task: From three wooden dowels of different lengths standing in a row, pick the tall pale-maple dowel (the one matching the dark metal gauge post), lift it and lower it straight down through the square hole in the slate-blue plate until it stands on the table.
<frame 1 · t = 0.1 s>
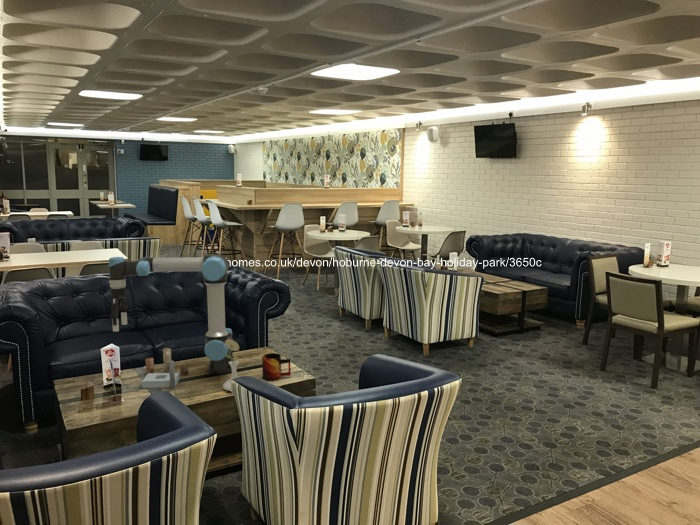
hand: (120, 327, 287), 28 cm above the table, fingers open, 13 cm apart
flower in vase: (233, 388, 279), on the table
short pin: (184, 374, 300), on the table
hole plate: (161, 383, 286), on the table
mug: (275, 377, 295), on the table
long pin: (167, 374, 300), on the table
medium pin: (150, 375, 298), on the table
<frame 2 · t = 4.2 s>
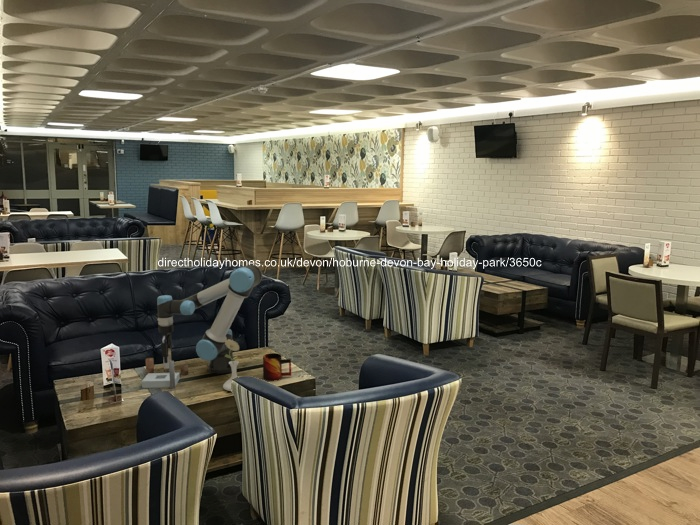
hand: (167, 366, 299), 4 cm above the table, fingers closed on long pin, 4 cm apart
long pin: (168, 374, 300), on the table, touching gripper
everything else where it was.
when the fingers open (5 cm above the table, at t = 9.4 s): long pin moves 1 cm, resting in hole plate.
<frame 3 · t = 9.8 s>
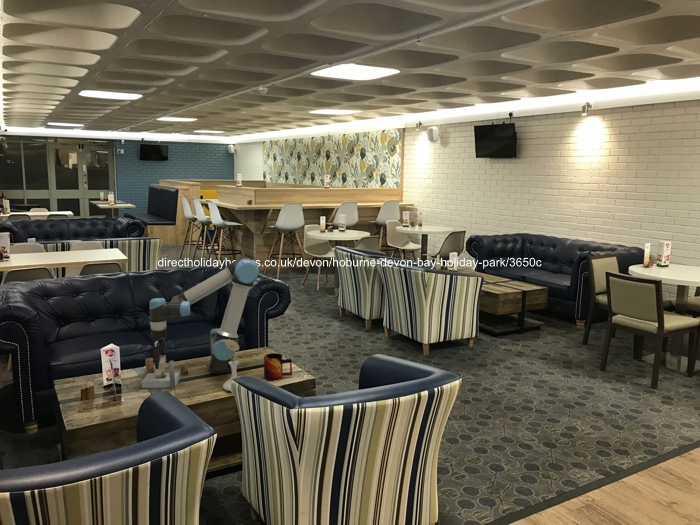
hand: (160, 371, 285), 7 cm above the table, fingers open, 10 cm apart
long pin: (161, 383, 286), resting in hole plate
everything else where it was.
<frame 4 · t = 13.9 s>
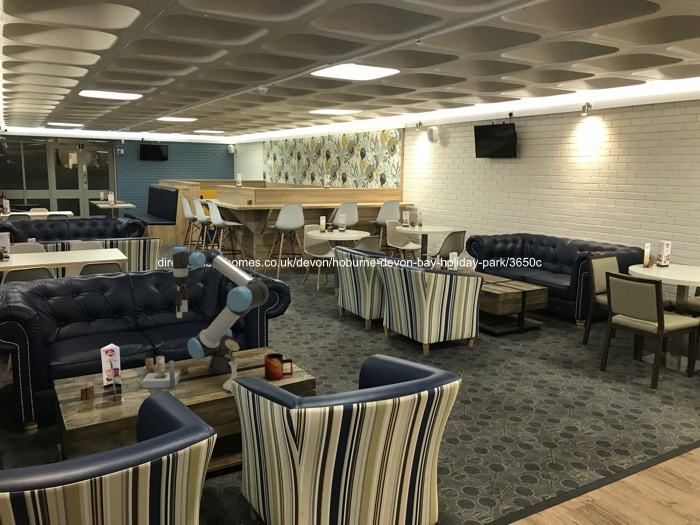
hand: (182, 314, 300), 32 cm above the table, fingers open, 13 cm apart
at the end: long pin 0.1 cm off-centre on the hole plate, point 0.0 cm above the hole plate's base; long pin tilted 0°; the gripper is holding nothing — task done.
